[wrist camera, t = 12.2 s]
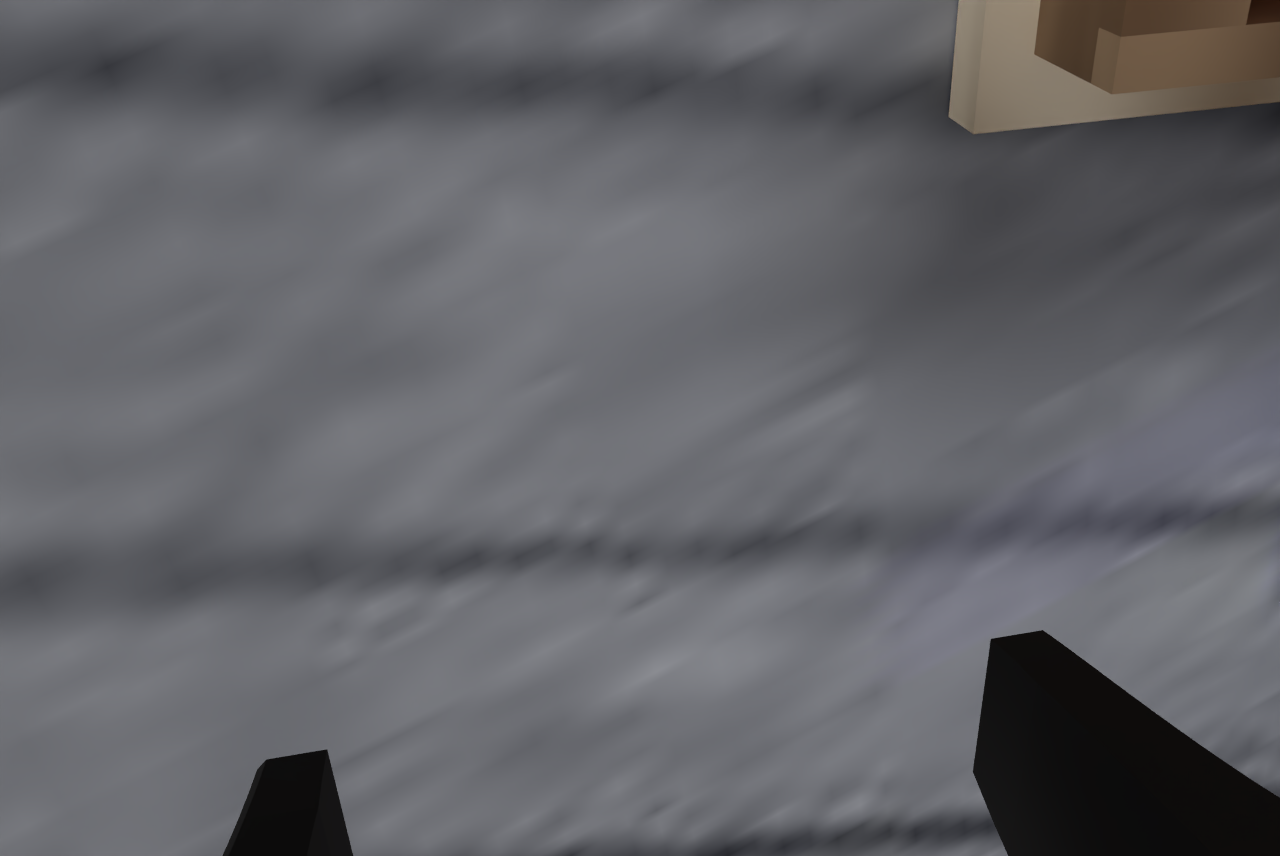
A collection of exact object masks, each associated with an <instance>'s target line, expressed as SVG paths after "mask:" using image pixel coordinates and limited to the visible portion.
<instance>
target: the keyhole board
mask: <svg viewBox="0 0 1280 856" xmlns="http://www.w3.org/2000/svg"><path fill="white" fill-rule="evenodd" d="M1273 102H1280V0H959V4H958V15H957V27H956V38H955V50H954V61H953V72H952V84H951V95H950V107H949V118H951V119H952V120H954V121H955V122H957V123H958V124H959V125H961V126H962V127H964V128H965V129H967V130H968V131H969V132H971V133H972V134H980V133H989V132H999V131H1008V130H1018V129H1027V128H1037V127H1046V126H1056V125H1065V124H1074V123H1084V122H1093V121H1103V120H1112V119H1122V118H1131V117H1141V116H1150V115H1160V114H1169V113H1179V112H1188V111H1198V110H1207V109H1217V108H1226V107H1236V106H1245V105H1254V104H1264V103H1273Z"/></svg>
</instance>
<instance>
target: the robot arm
mask: <svg viewBox="0 0 1280 856" xmlns="http://www.w3.org/2000/svg"><path fill="white" fill-rule="evenodd" d="M973 773H974V776H975V778H976V780H977V783H978V785H979V788H980V790H981V793H982V795H983V798H984V800H985V803H986V805H987V808H988V810H989V812H990V815H991V817H992V820H993V822H994V824H995V827H996V829H997V831H998V833H999V836H1000V838H1001V840H1002V842H1003V845H1004V847H1005V849H1006V852H1007V854H1008V856H1280V798H1279V797H1278V796H1276V795H1274V794H1273V793H1271V792H1270V791H1268V790H1267V789H1265V788H1263V787H1262V786H1260V785H1259V784H1257V783H1256V782H1254V781H1252V780H1251V779H1249V778H1248V777H1246V776H1245V775H1243V774H1242V773H1241V772H1239V771H1238V770H1236V769H1235V768H1233V767H1232V766H1230V765H1229V764H1227V763H1226V762H1224V761H1223V760H1221V759H1220V758H1218V757H1217V756H1215V755H1214V754H1212V753H1211V752H1210V751H1208V750H1207V749H1205V748H1204V747H1202V746H1201V745H1199V744H1198V743H1197V742H1195V741H1194V740H1192V739H1191V738H1190V737H1188V736H1187V735H1185V734H1184V733H1182V732H1181V731H1180V730H1178V729H1177V728H1175V727H1174V726H1173V725H1171V724H1170V723H1168V722H1167V721H1166V720H1164V719H1163V718H1162V717H1160V716H1159V715H1157V714H1156V713H1155V712H1153V711H1152V710H1150V709H1149V708H1148V707H1146V706H1145V705H1144V704H1142V703H1141V702H1140V701H1138V700H1137V699H1136V698H1134V697H1133V696H1131V695H1130V694H1129V693H1127V692H1126V691H1125V690H1123V689H1122V688H1121V687H1119V686H1118V685H1117V684H1115V683H1114V682H1113V681H1111V680H1110V679H1109V678H1107V677H1106V676H1104V675H1103V674H1102V673H1100V672H1099V671H1098V670H1096V669H1095V668H1094V667H1092V666H1091V665H1090V664H1088V663H1087V662H1086V661H1084V660H1083V659H1082V658H1080V657H1079V656H1078V655H1076V654H1075V653H1074V652H1072V651H1071V650H1070V649H1068V648H1067V647H1065V646H1064V645H1063V644H1061V643H1060V642H1059V641H1057V640H1056V639H1054V638H1053V637H1052V636H1050V635H1049V634H1047V633H1046V632H1044V631H1043V630H1042V631H1036V632H1030V633H1024V634H1018V635H1012V636H1006V637H1000V638H994V639H991V642H990V650H989V657H988V664H987V672H986V679H985V686H984V694H983V701H982V709H981V716H980V723H979V731H978V738H977V746H976V753H975V760H974V768H973ZM223 856H353V853H352V849H351V845H350V841H349V837H348V833H347V829H346V825H345V821H344V817H343V812H342V808H341V804H340V800H339V796H338V792H337V788H336V784H335V780H334V776H333V771H332V767H331V763H330V759H329V755H328V751H327V750H321V751H315V752H309V753H303V754H297V755H291V756H285V757H279V758H273V759H267V760H266V761H265V762H264V763H263V764H262V765H261V766H260V767H259V768H258V769H257V772H256V775H255V777H254V780H253V783H252V786H251V788H250V791H249V794H248V796H247V799H246V801H245V804H244V806H243V809H242V812H241V814H240V817H239V819H238V821H237V824H236V826H235V829H234V831H233V833H232V836H231V838H230V840H229V843H228V845H227V847H226V849H225V851H224V854H223Z"/></svg>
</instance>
